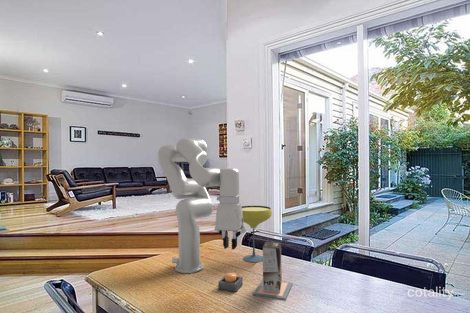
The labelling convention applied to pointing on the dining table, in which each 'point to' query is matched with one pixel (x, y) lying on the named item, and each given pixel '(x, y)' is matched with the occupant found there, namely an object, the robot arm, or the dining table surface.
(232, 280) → the button
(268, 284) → the coffee box
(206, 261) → the dining table surface
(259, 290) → the picture board
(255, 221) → the cocktail glass
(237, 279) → the button housing
